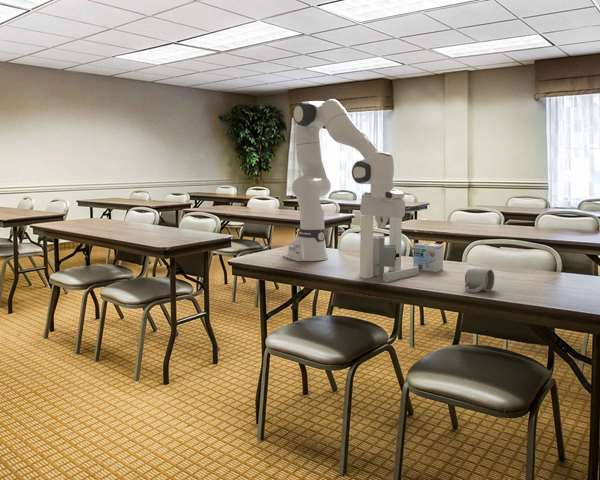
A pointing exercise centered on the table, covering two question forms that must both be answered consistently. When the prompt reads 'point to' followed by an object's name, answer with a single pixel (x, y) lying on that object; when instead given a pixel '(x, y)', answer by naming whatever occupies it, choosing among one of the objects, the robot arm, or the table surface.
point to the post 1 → (366, 246)
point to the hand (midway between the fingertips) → (381, 227)
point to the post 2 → (396, 240)
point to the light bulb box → (428, 256)
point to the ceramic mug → (479, 280)
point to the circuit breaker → (382, 255)
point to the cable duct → (400, 273)
